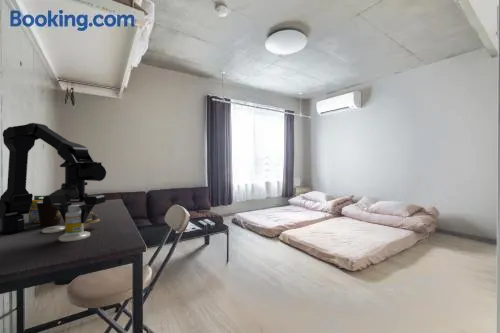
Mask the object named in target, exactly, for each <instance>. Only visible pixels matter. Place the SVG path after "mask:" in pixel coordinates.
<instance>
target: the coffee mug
mask: <svg viewBox="0 0 500 333" xmlns="http://www.w3.org/2000/svg"><path fill="white" fill-rule="evenodd" d="M51 205H53V204H43V201H39V202H37V208H38V214H39V220H40V223H39V225H40V227H43V228H48V227H53V226H59V225H60V224H61V220H62V216H56V214H58V213H60V212H59V210H58V209H57V208H55V207H53V206H51Z"/></svg>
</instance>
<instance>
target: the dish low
mask: <svg viewBox="0 0 500 333" xmlns="http://www.w3.org/2000/svg"><path fill="white" fill-rule="evenodd" d="M90 236H91V232H90V231H86V230H85V231H83V232H81V233H78V234H70V235H68V234H65V233H64V234H62V235H60V236H58V241H59V242H61V243H62V242H64V243H66V242H67V243H69V242H77V241H81V240H85V239H87V238H90Z"/></svg>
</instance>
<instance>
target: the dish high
mask: <svg viewBox="0 0 500 333" xmlns="http://www.w3.org/2000/svg"><path fill="white" fill-rule="evenodd" d="M62 231H65V225H54V226H47V227H43V229H42V228H41V233H43V234H54V233H59V232H62Z"/></svg>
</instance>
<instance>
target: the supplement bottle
mask: <svg viewBox="0 0 500 333" xmlns="http://www.w3.org/2000/svg"><path fill="white" fill-rule="evenodd" d="M80 205H81V204H71V206H68V211H69V212H67V213H66V214H65V222H64V226H65V230H64V234H68V235H70V234H78V233H81V232H83V231H84V230H85V229H84V224H85V223H81V209H80V207H79V206H80Z"/></svg>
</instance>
